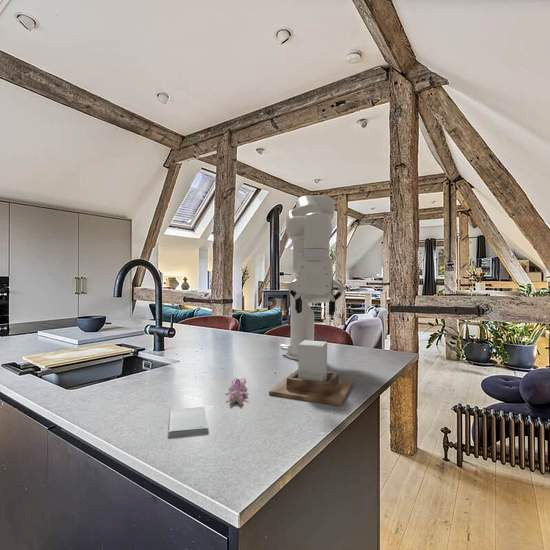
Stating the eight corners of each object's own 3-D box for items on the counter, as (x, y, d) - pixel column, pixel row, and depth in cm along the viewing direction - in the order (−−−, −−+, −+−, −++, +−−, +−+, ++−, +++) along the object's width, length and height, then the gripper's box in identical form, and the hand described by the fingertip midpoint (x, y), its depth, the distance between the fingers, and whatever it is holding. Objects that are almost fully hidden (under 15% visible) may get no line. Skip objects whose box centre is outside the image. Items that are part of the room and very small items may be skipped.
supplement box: (327, 383, 108) (328, 341, 107) (322, 390, 101) (323, 346, 100) (303, 380, 110) (304, 339, 110) (297, 387, 103) (298, 343, 103)
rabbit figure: (248, 411, 91) (250, 383, 106) (248, 389, 90) (250, 364, 105) (223, 411, 91) (229, 383, 105) (223, 389, 90) (229, 364, 104)
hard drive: (208, 427, 75) (204, 406, 87) (168, 431, 73) (169, 408, 85) (208, 435, 75) (204, 412, 87) (168, 439, 73) (169, 415, 85)
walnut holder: (268, 394, 99) (269, 380, 99) (292, 375, 118) (292, 363, 118) (340, 405, 92) (340, 390, 92) (353, 383, 111) (353, 371, 111)
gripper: (284, 254, 104) (282, 313, 105) (343, 255, 98) (341, 317, 98) (292, 256, 111) (291, 310, 112) (348, 256, 105) (346, 314, 105)
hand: (314, 313), depth 105 cm, fingers open, 9 cm apart
